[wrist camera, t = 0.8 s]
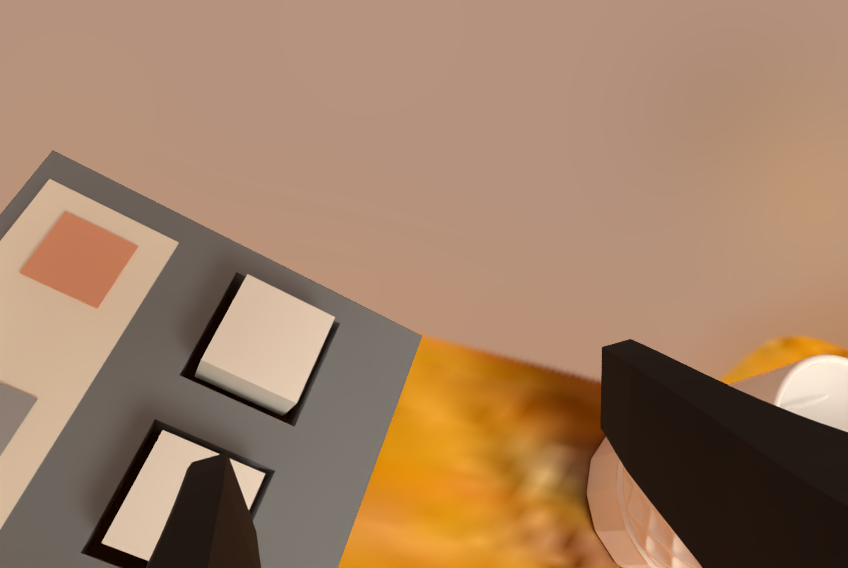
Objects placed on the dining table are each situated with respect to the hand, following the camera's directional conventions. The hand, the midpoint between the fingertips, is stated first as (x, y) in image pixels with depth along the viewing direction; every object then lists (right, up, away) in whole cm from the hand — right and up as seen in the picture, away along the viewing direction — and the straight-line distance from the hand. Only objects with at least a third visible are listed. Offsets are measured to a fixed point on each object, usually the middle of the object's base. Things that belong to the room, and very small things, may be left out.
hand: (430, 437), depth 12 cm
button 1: (-6, 0, +11) cm, 12 cm away
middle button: (-8, -4, +8) cm, 12 cm away
